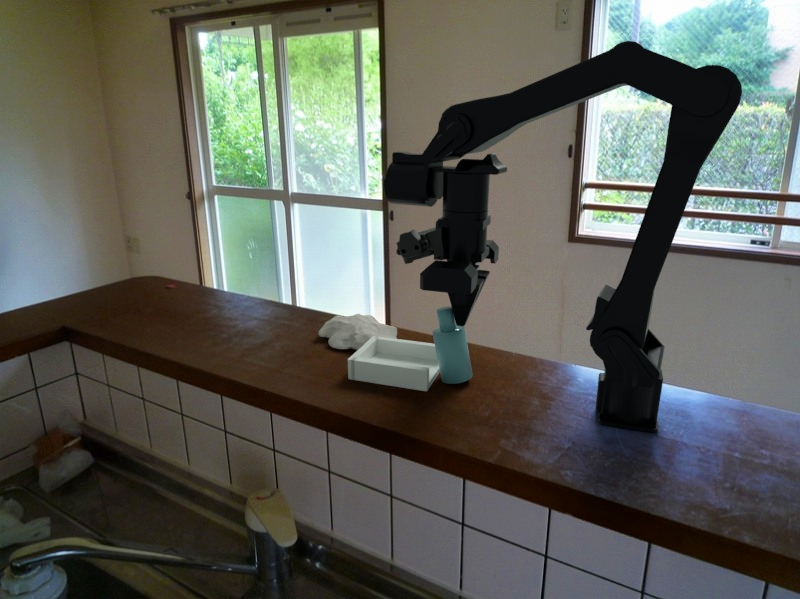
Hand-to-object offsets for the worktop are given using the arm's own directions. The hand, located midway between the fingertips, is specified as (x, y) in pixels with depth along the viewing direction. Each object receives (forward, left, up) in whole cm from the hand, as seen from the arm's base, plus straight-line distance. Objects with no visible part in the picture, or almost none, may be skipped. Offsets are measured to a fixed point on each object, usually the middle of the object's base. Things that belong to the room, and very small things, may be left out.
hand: (460, 325), depth 75 cm
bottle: (0, 0, -8) cm, 8 cm away
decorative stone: (+19, -9, -9) cm, 23 cm away
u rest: (+9, 0, -8) cm, 12 cm away
